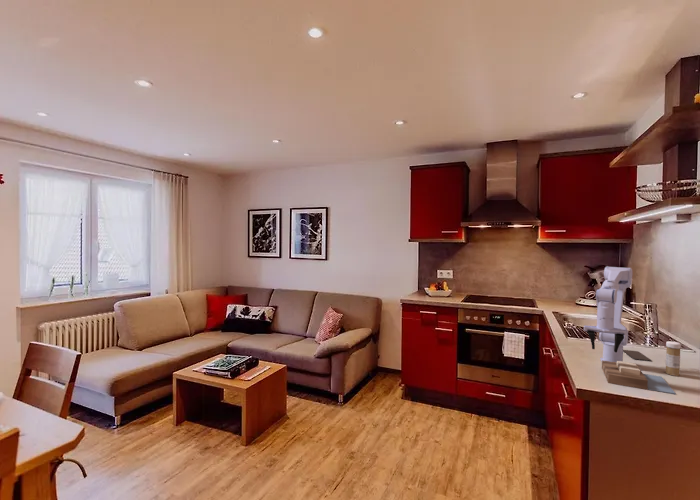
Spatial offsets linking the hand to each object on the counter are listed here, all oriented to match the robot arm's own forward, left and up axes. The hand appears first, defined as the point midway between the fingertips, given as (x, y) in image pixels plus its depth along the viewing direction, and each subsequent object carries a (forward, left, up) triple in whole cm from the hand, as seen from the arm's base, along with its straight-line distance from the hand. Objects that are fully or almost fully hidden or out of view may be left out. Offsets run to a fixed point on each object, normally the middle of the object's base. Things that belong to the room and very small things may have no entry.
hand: (604, 350), depth 145 cm
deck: (0, +6, -10) cm, 12 cm away
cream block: (0, +8, -7) cm, 11 cm away
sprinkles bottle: (-16, +25, -11) cm, 32 cm away
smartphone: (-38, +17, -11) cm, 43 cm away
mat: (0, +17, -10) cm, 20 cm away
